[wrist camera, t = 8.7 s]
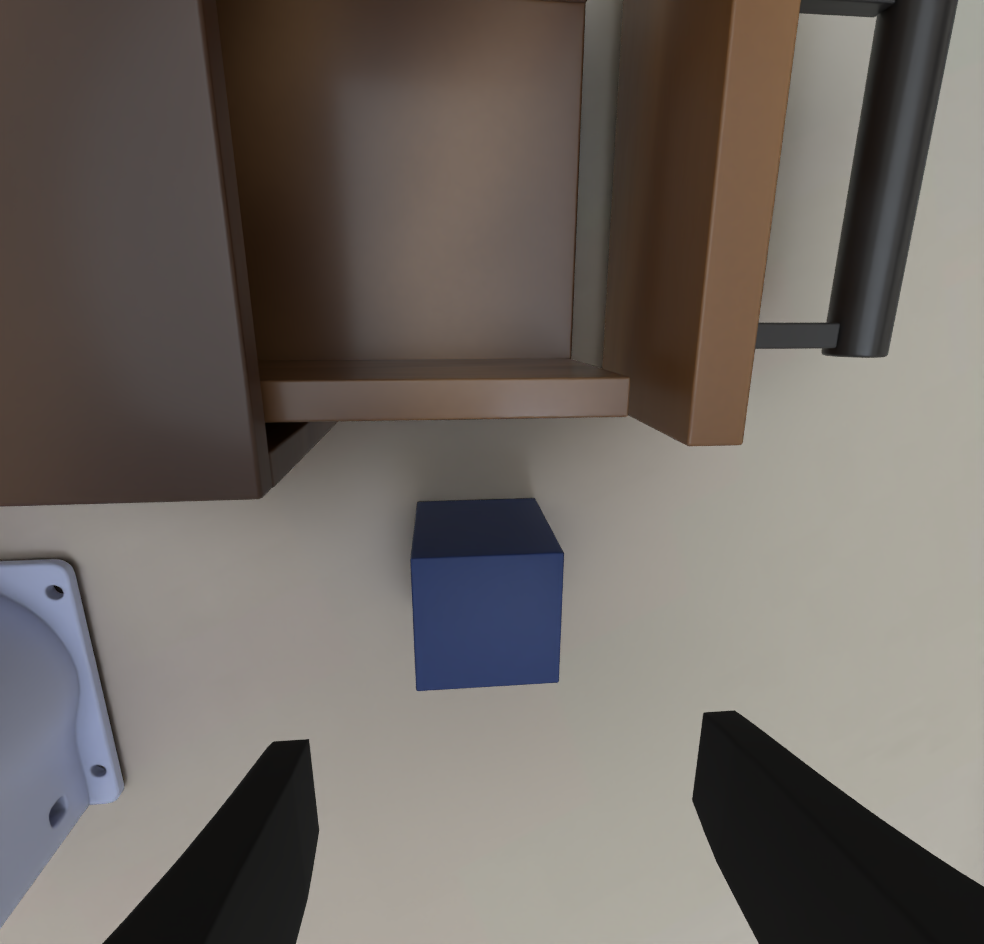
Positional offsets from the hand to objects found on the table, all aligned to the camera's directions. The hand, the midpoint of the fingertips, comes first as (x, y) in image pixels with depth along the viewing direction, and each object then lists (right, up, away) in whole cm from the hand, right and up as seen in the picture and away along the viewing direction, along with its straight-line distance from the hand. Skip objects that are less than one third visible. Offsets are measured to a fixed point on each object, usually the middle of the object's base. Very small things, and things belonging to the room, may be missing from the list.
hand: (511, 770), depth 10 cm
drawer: (0, +13, +5) cm, 14 cm away
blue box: (-1, +3, +9) cm, 9 cm away
